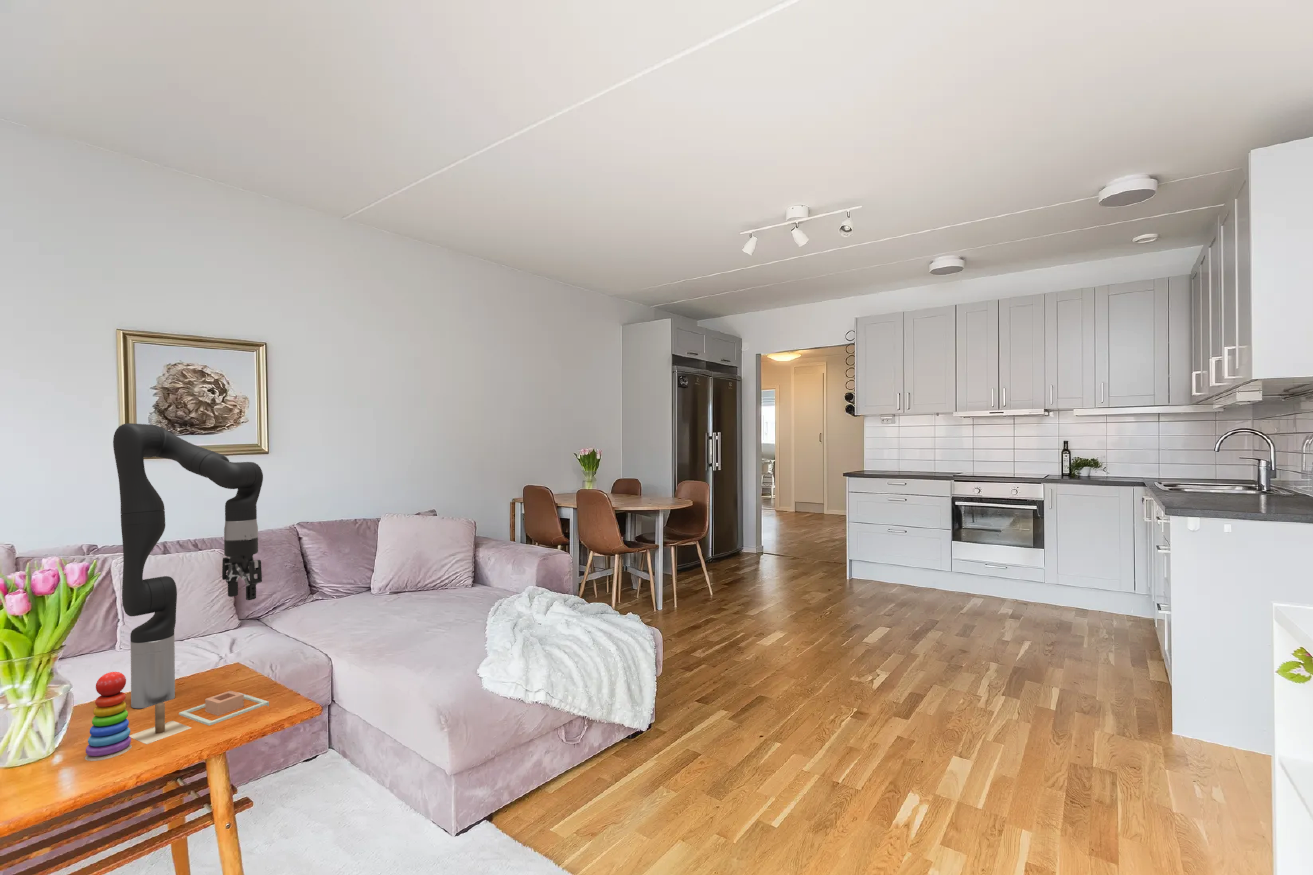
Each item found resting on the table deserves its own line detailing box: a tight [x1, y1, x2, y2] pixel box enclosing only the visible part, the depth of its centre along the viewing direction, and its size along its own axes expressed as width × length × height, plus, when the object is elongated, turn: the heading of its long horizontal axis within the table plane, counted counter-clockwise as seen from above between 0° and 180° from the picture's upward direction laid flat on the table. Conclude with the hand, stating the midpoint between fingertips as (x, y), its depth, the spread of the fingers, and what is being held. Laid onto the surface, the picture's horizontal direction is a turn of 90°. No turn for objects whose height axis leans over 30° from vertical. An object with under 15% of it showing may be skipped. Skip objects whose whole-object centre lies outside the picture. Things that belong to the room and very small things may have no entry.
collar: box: [204, 690, 245, 717], centre depth 158 cm, size 6×7×4 cm
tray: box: [178, 692, 270, 726], centre depth 158 cm, size 14×14×2 cm
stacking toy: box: [84, 671, 132, 762], centre depth 136 cm, size 8×8×19 cm
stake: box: [129, 702, 192, 745], centre depth 146 cm, size 9×9×8 cm
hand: (241, 597), depth 165 cm, fingers open, 8 cm apart
